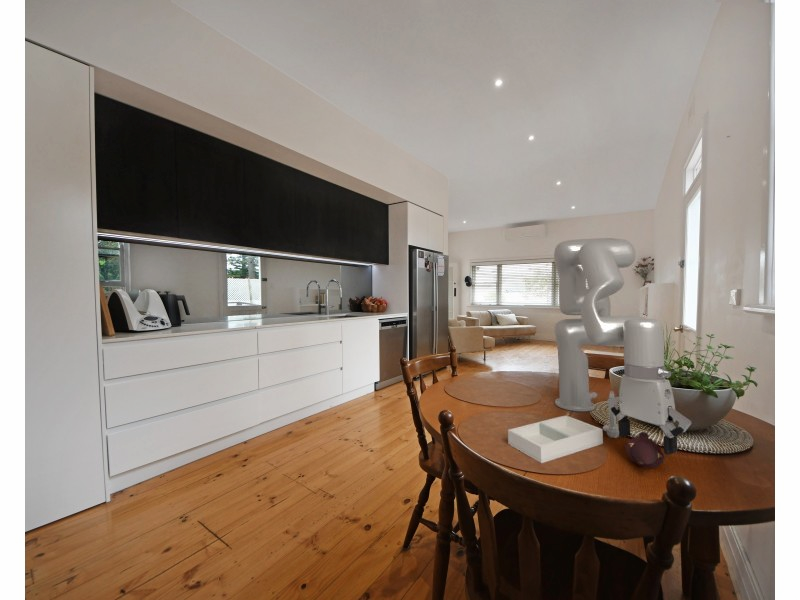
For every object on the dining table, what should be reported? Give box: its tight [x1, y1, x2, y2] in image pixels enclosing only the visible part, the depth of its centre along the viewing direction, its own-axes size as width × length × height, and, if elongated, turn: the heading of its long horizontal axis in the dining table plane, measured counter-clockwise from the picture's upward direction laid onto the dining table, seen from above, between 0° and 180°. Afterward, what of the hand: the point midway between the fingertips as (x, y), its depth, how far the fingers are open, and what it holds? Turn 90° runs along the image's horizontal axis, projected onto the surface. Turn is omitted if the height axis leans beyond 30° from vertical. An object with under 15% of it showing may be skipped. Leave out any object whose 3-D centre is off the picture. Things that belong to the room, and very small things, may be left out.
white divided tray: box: [507, 415, 604, 464], centre depth 89 cm, size 22×12×4 cm, turn 113°
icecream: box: [624, 431, 666, 469], centre depth 77 cm, size 7×7×15 cm
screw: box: [602, 390, 620, 439], centre depth 92 cm, size 13×5×5 cm
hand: (646, 444), depth 76 cm, fingers open, 9 cm apart
